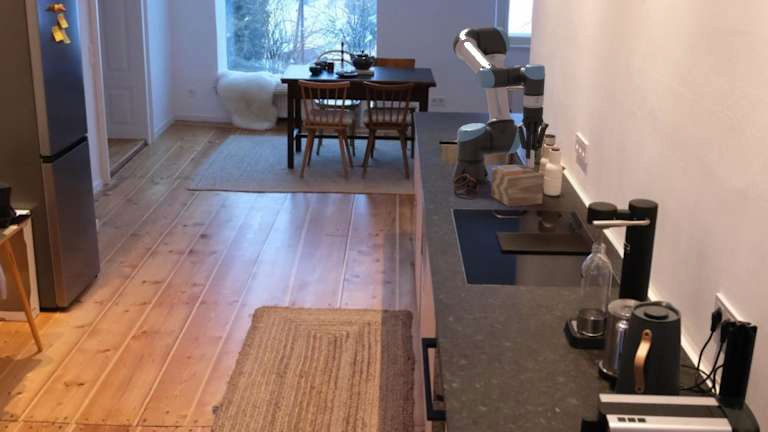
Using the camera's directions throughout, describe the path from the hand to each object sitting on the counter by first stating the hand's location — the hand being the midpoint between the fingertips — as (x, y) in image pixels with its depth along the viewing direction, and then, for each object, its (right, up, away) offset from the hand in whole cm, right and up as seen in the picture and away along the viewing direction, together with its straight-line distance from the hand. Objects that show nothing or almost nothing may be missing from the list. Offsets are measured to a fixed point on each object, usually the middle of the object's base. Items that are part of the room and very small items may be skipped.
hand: (530, 166), depth 330 cm
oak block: (-5, -12, +2) cm, 14 cm away
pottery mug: (-23, -10, +13) cm, 29 cm away
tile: (-8, -2, -2) cm, 9 cm away
